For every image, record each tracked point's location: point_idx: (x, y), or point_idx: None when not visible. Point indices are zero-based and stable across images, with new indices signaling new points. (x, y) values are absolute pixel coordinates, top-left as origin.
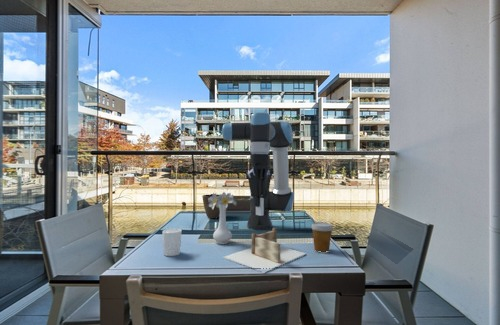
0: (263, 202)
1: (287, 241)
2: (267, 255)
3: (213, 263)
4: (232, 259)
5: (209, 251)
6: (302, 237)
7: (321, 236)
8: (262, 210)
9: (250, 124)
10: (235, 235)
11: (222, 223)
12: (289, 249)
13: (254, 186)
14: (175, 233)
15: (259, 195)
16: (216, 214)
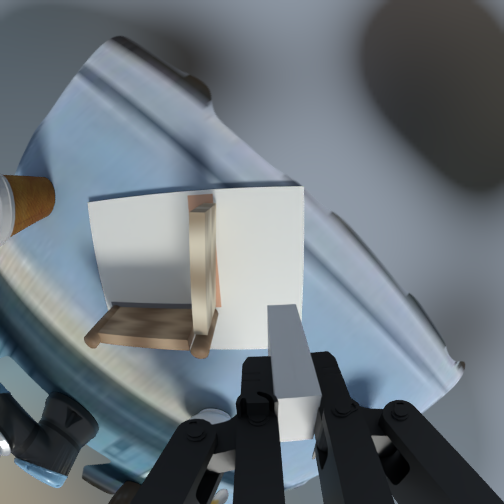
0: (275, 366)
1: (63, 312)
2: (214, 253)
3: (343, 332)
4: None
5: None
6: (22, 301)
7: (22, 187)
8: (282, 324)
9: None
10: (153, 424)
11: None
12: (100, 261)
13: (474, 478)
14: None
15: (354, 422)
16: (130, 487)
